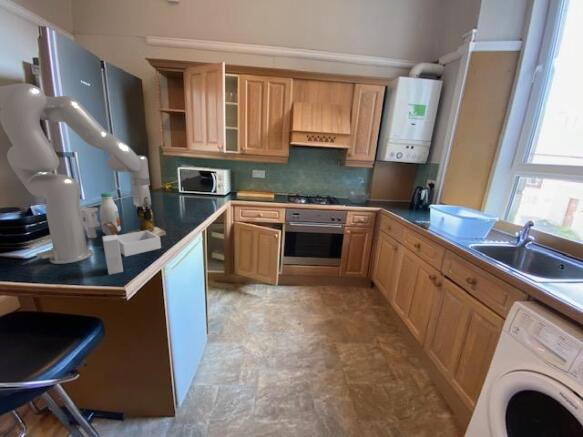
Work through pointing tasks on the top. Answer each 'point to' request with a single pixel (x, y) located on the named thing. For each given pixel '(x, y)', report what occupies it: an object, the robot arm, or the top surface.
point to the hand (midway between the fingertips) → (144, 217)
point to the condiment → (145, 222)
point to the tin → (110, 229)
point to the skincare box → (112, 254)
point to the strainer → (90, 220)
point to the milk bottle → (109, 211)
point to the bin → (138, 242)
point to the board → (158, 233)
